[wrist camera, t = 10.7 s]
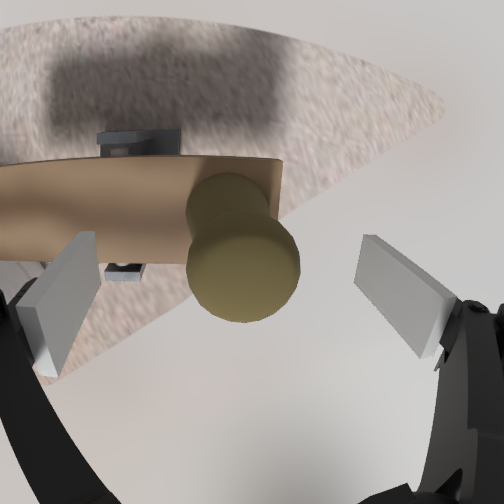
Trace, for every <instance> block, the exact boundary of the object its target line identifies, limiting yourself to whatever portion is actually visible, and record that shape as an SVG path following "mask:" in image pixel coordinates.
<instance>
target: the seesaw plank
mask: <svg viewBox="0 0 504 504" xmlns="http://www.w3.org/2000/svg"><path fill="white" fill-rule="evenodd" d="M282 167H283V161H282V160H279V159H272V158H256V157H236V156H209V155H129V156H128V147H118V148H110V156H103V157H84V158H70V159H57V160H46V161H35V162H26V163H17V164H9V165H1V166H0V261H34V262H52V261H53V260H54V259H55V258H56V257H57V256H58V254H59V253H60V252H61V251H62V250H63V249H64V248H65V247H66V246H67V245H68V243H69V242H70V241H71V240H72V239H73V238H74V237H75V236H76V235H77V234H78V233H79V232H80V231H95V240H96V249H97V258H98V263H116V265H118V266H126V265H129V264H131V263H152V264H187V258H188V251H189V247H190V245H191V243H192V239H191V236H190V233H189V230H188V227H187V221H186V215H185V212H186V206H187V201H188V199H189V197H190V195H191V193H192V191H193V189H194V188H195V187H196V186H197V185H198V184H199V183H200V182H201V181H203V180H204V179H206V178H208V177H210V176H212V175H214V174H220V173H227V172H230V173H236V174H241V175H243V176H245V177H247V178H249V179H251V180H253V181H254V182H255V183H256V184H257V185H258V186H259V187H260V189H261V190H262V191H263V194H264V196H265V198H266V200H267V203H268V207H269V210H270V214H271V217H272V218H274V219H275V220H277V221H278V210H279V200H280V189H281V178H282Z"/></svg>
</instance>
